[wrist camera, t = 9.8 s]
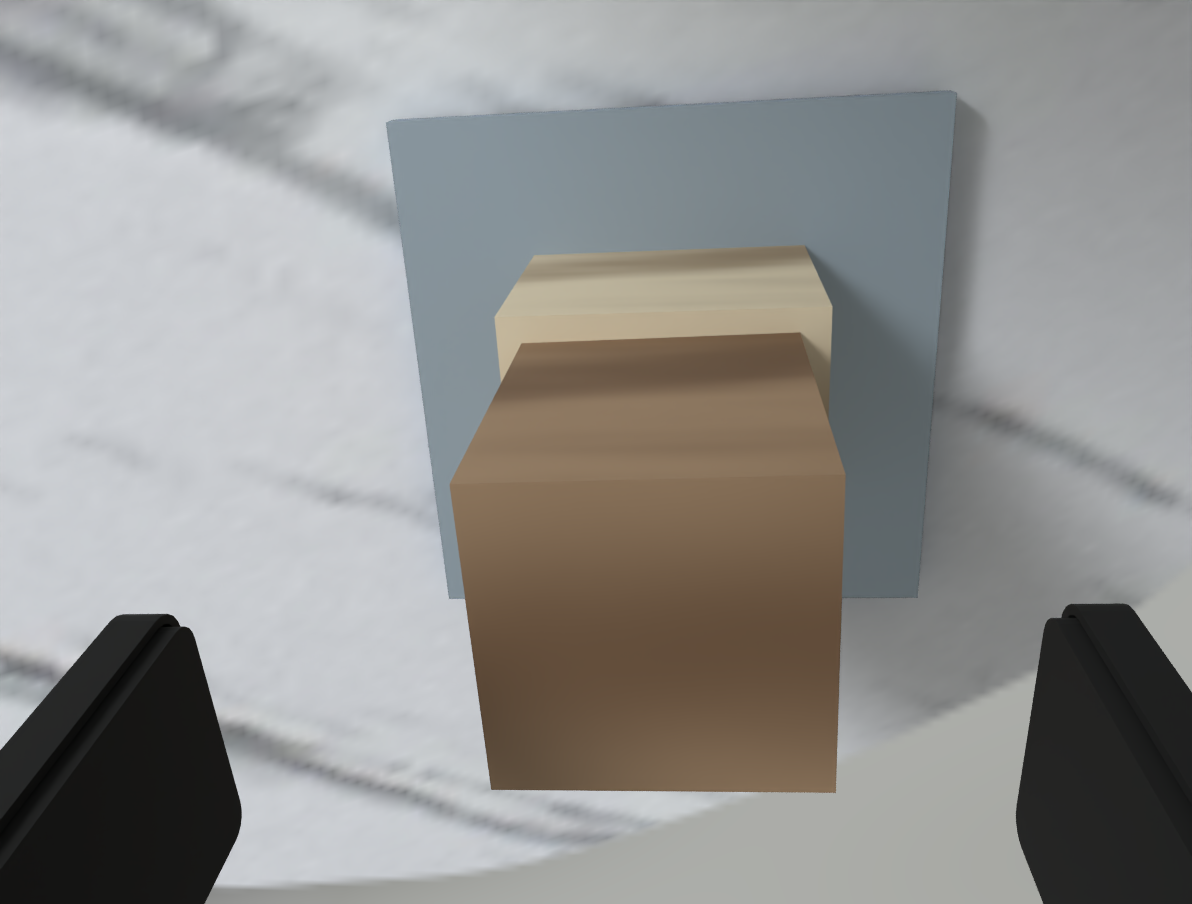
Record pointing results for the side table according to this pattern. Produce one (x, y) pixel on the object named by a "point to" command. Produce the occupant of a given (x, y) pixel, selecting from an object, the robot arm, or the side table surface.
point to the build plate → (699, 221)
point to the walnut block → (655, 567)
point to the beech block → (670, 299)
